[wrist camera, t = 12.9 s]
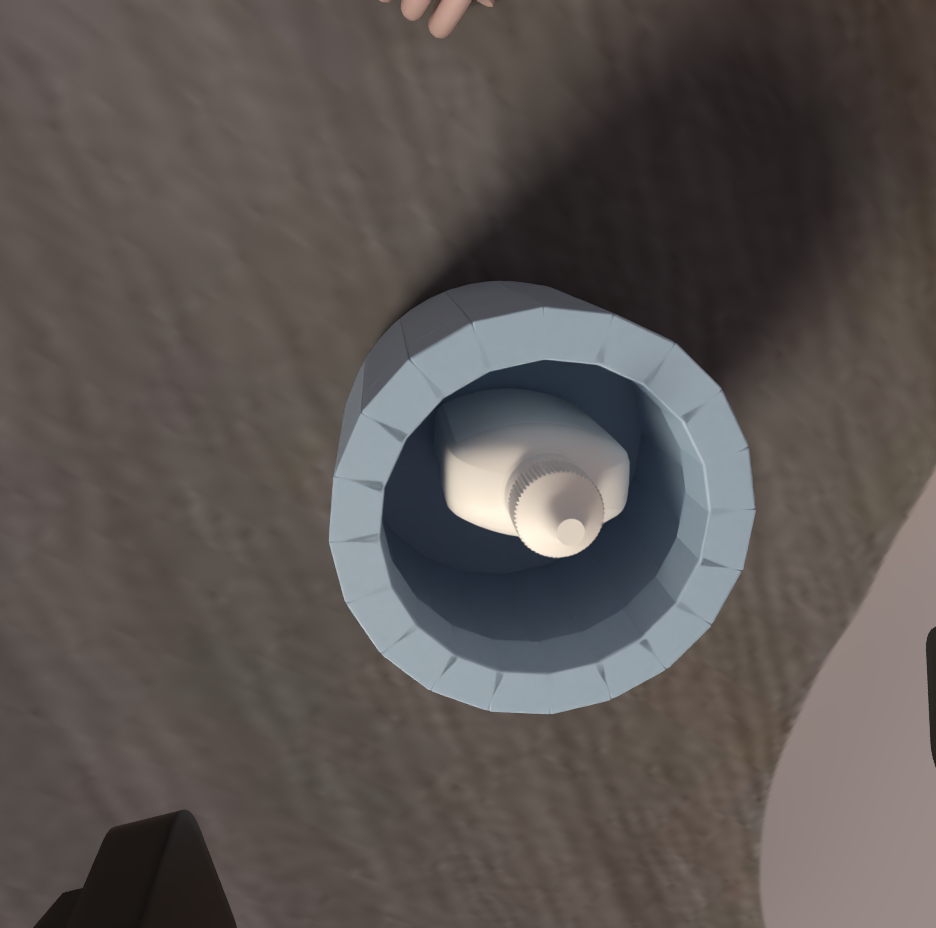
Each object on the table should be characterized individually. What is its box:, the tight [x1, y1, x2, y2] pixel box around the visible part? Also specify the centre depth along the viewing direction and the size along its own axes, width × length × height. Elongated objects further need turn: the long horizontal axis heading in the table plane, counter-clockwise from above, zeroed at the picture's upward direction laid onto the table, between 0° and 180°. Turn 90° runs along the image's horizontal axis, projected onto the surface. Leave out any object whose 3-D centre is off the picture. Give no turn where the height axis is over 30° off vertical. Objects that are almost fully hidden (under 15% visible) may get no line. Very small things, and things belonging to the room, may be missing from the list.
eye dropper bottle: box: [434, 388, 629, 558], centre depth 27 cm, size 4×6×12 cm
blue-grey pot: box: [329, 281, 756, 714], centre depth 29 cm, size 12×12×10 cm
